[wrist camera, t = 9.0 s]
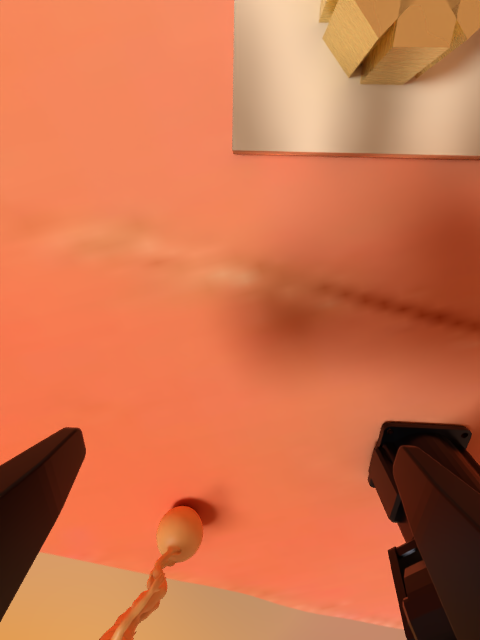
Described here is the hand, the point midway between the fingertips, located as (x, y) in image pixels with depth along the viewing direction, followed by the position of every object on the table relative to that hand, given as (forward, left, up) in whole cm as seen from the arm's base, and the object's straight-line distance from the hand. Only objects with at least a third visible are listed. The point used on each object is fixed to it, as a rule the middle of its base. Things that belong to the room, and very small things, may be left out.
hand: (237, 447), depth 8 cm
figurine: (+6, +20, -12) cm, 24 cm away
